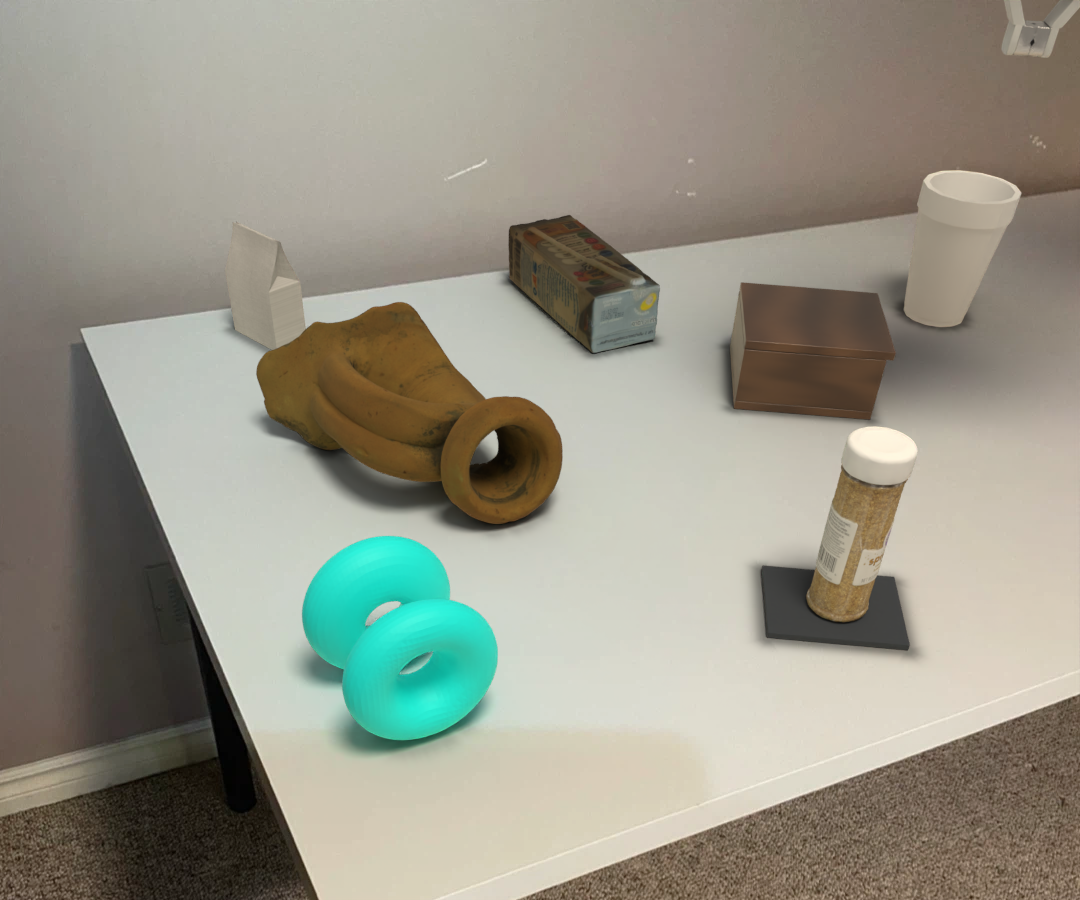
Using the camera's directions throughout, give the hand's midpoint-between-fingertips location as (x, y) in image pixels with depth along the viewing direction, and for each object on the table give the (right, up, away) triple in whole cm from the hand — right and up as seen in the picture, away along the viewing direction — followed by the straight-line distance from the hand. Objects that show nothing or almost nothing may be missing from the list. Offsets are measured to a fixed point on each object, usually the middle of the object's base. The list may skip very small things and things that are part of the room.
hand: (1024, 54), depth 72 cm
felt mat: (-11, -37, +7) cm, 39 cm away
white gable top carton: (-59, -7, +35) cm, 69 cm away
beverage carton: (-29, -2, +41) cm, 50 cm away
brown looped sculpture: (-44, -24, +18) cm, 53 cm away
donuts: (-42, -43, -1) cm, 60 cm away
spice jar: (-11, -37, +6) cm, 39 cm away
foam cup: (+10, -1, +44) cm, 45 cm away
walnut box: (-8, -12, +31) cm, 35 cm away
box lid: (-7, -8, +27) cm, 29 cm away
